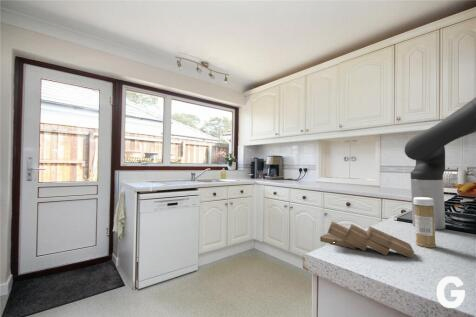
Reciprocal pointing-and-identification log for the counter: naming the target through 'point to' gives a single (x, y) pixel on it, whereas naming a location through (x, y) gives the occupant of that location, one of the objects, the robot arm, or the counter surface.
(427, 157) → the robot arm
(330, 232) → the domino
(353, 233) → the domino
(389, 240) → the domino
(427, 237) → the sprinkles bottle
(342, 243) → the end domino
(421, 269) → the counter surface
